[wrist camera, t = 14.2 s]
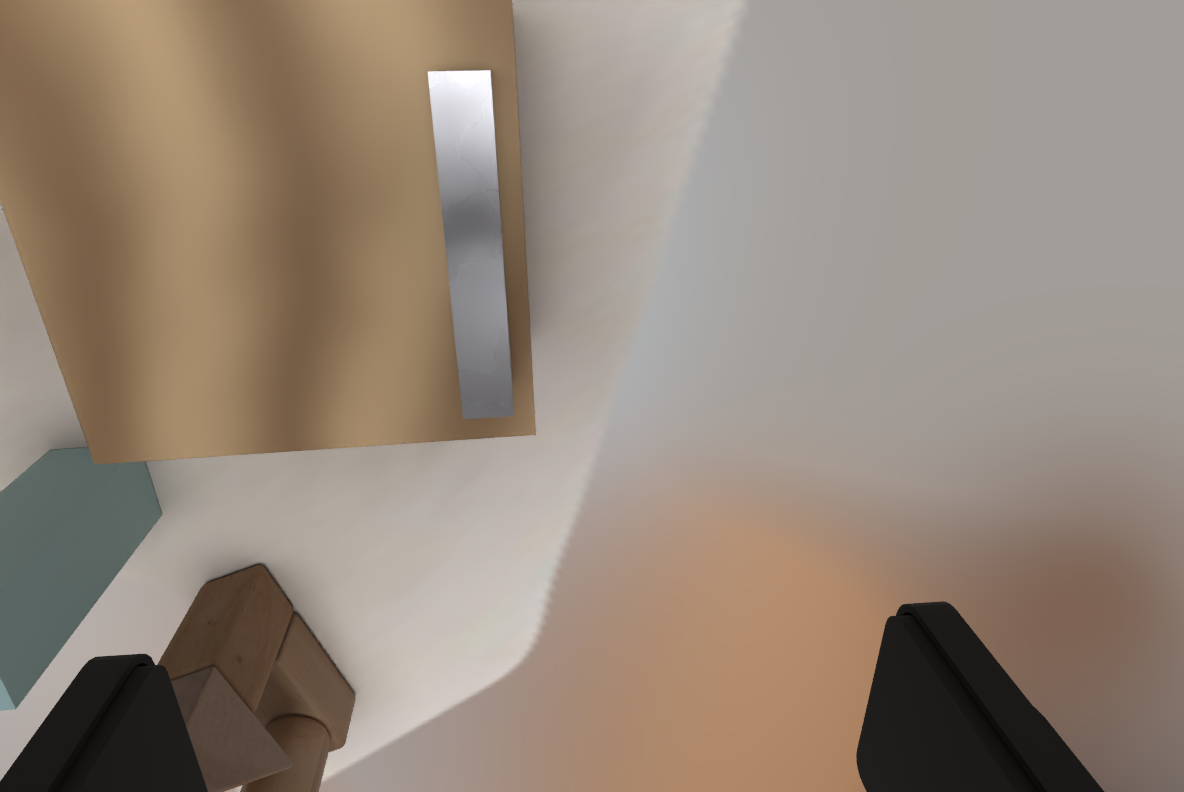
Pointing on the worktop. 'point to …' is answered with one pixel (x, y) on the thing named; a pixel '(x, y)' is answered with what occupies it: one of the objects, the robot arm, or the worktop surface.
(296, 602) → the worktop surface
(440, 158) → the lid
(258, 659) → the wooden block structure
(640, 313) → the worktop surface
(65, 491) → the teal rectangular block
